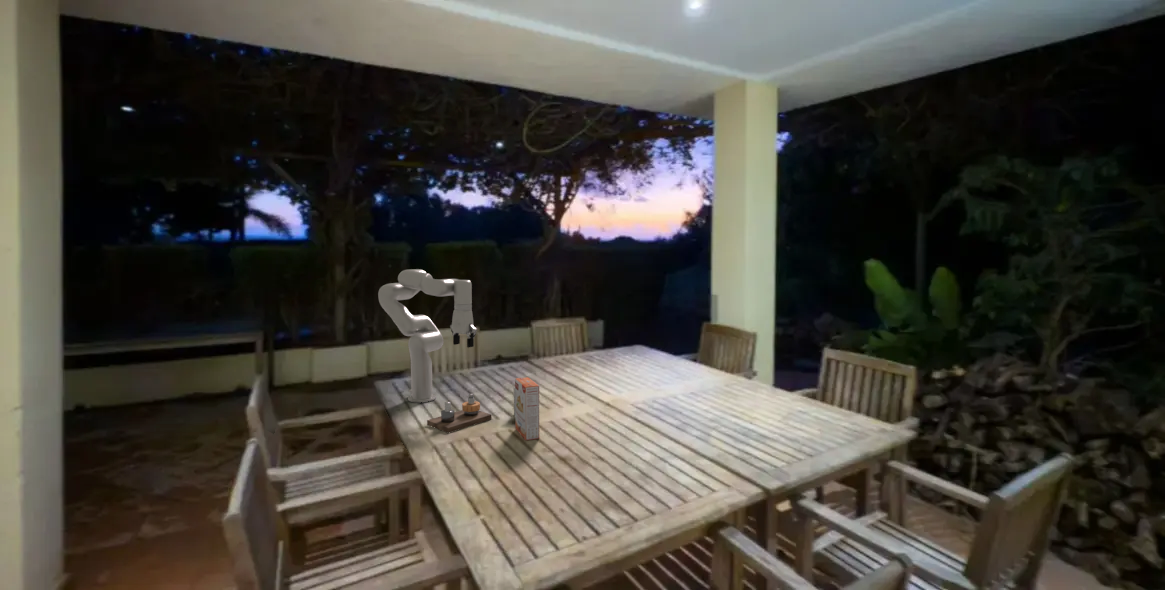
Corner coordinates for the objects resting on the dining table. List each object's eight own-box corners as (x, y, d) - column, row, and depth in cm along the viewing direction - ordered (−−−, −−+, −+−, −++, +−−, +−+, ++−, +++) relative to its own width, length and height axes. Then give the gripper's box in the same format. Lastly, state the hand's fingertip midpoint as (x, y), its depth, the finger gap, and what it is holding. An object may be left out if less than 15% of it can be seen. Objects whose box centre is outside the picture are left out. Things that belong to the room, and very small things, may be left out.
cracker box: (514, 429, 210) (514, 377, 209) (528, 427, 213) (528, 376, 211) (524, 441, 198) (524, 386, 196) (539, 439, 200) (540, 385, 198)
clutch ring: (460, 411, 219) (460, 406, 219) (464, 406, 226) (464, 401, 226) (478, 411, 219) (478, 406, 219) (481, 406, 226) (481, 401, 226)
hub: (461, 414, 222) (460, 394, 222) (472, 410, 227) (472, 391, 226) (470, 417, 219) (470, 397, 218) (481, 413, 223) (481, 394, 223)
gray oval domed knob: (438, 421, 213) (438, 402, 213) (449, 417, 217) (449, 399, 217) (446, 423, 210) (446, 405, 209) (457, 420, 214) (456, 402, 213)
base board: (427, 425, 214) (427, 420, 214) (470, 412, 231) (470, 407, 231) (448, 432, 206) (448, 427, 205) (491, 419, 223) (491, 414, 222)
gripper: (444, 306, 237) (444, 344, 239) (468, 310, 226) (469, 349, 228) (457, 305, 243) (458, 342, 244) (482, 308, 232) (482, 346, 234)
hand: (463, 345), depth 236 cm, fingers open, 9 cm apart
